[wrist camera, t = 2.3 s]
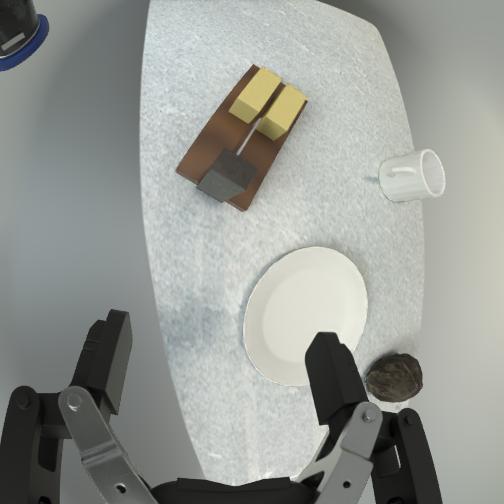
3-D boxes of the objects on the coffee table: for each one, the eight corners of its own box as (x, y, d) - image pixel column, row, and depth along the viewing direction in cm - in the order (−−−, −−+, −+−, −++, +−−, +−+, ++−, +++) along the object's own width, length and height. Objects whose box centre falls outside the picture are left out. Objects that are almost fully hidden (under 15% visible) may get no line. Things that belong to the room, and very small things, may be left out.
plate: (255, 399, 37) (261, 407, 35) (222, 266, 35) (226, 268, 32) (362, 349, 44) (370, 353, 42) (349, 232, 41) (359, 232, 39)
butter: (273, 141, 35) (287, 131, 31) (228, 111, 32) (237, 97, 29) (293, 108, 36) (307, 96, 32) (252, 80, 33) (262, 65, 29)
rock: (362, 363, 43) (406, 385, 34) (396, 339, 48) (436, 354, 39) (357, 403, 45) (395, 425, 36) (390, 377, 50) (425, 394, 41)
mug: (359, 154, 42) (402, 140, 32) (402, 162, 46) (441, 152, 36) (365, 201, 42) (410, 194, 33) (407, 202, 46) (448, 198, 37)
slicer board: (242, 211, 35) (246, 210, 34) (175, 171, 32) (176, 168, 31) (303, 105, 38) (307, 101, 36) (250, 69, 35) (253, 64, 33)
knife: (221, 203, 32) (246, 190, 24) (195, 187, 31) (211, 168, 23) (259, 138, 34) (292, 110, 25) (236, 123, 32) (263, 90, 24)
